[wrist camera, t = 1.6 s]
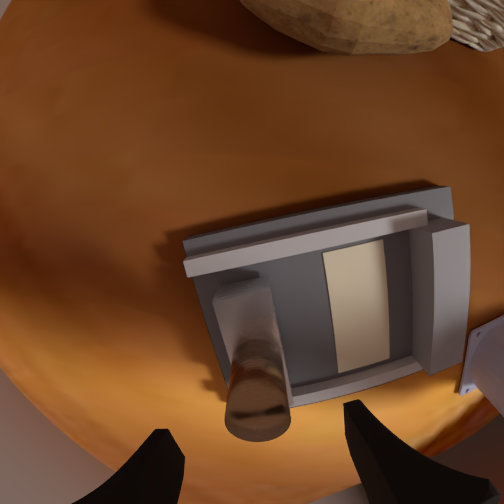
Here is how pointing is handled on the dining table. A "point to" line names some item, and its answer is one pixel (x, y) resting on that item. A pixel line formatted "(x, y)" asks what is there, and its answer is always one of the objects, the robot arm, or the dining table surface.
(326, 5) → the potato
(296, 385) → the base
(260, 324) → the press handle
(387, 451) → the robot arm
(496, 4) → the storage basket
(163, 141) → the dining table surface
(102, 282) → the dining table surface
